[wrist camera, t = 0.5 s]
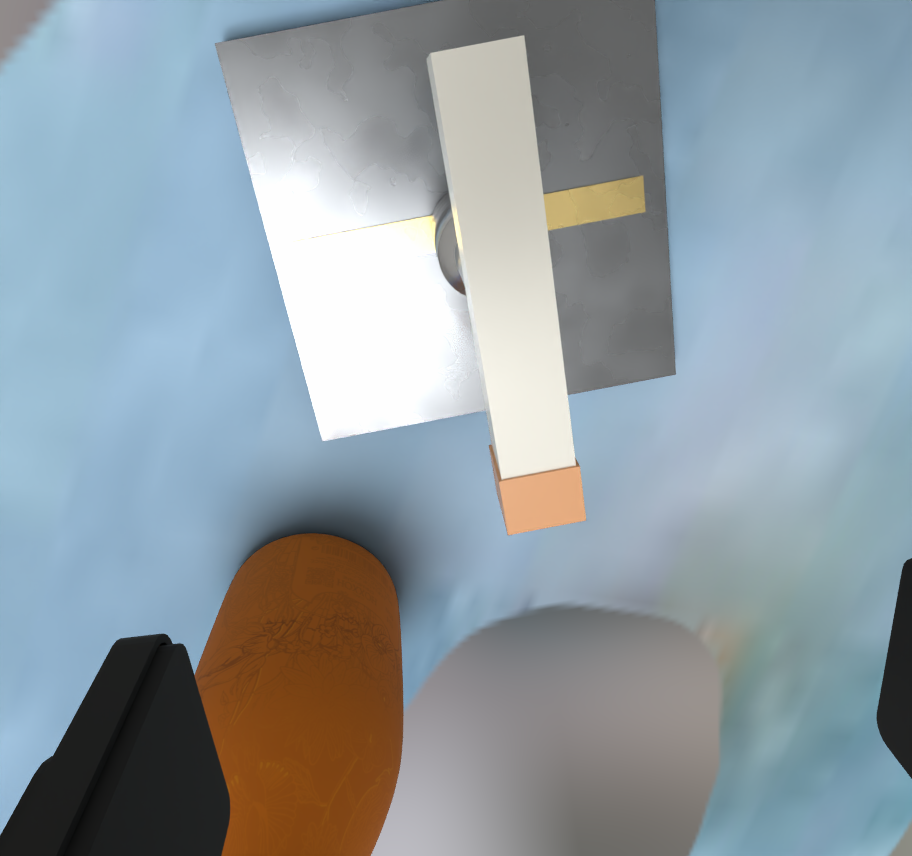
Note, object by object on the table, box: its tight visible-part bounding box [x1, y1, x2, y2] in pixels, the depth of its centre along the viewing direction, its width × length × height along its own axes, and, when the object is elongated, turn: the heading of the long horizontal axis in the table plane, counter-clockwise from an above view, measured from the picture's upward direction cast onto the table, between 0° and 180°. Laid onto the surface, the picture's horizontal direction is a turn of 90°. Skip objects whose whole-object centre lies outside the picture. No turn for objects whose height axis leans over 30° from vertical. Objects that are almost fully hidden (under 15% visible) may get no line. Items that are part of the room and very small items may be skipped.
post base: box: [215, 0, 676, 441], centre depth 31 cm, size 18×18×8 cm
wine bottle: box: [194, 533, 403, 856], centre depth 29 cm, size 10×10×30 cm
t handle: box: [426, 35, 586, 535], centre depth 25 cm, size 3×14×7 cm, turn 10°
